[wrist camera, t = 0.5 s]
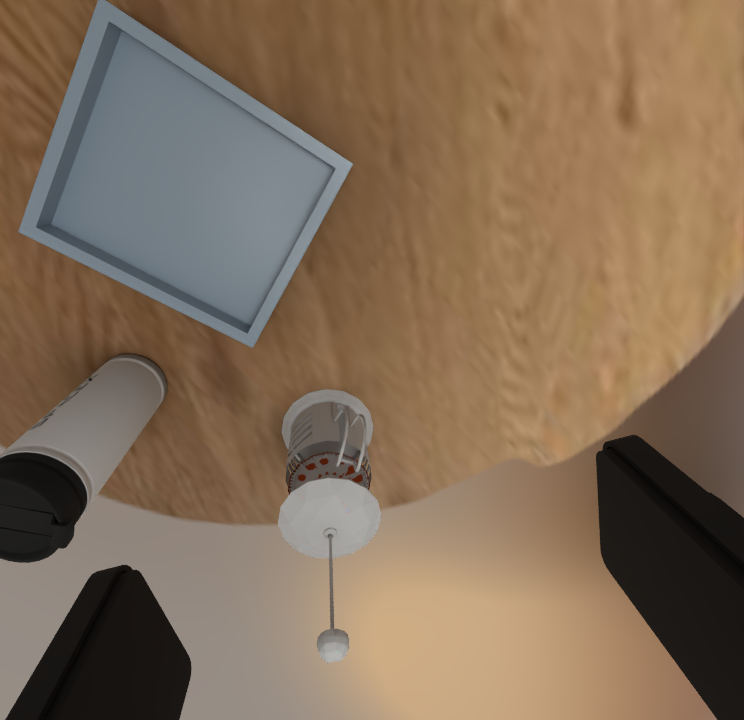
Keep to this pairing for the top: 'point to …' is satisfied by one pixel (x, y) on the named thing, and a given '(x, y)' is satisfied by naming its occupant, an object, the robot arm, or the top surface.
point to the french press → (328, 487)
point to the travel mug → (73, 456)
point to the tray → (178, 180)
